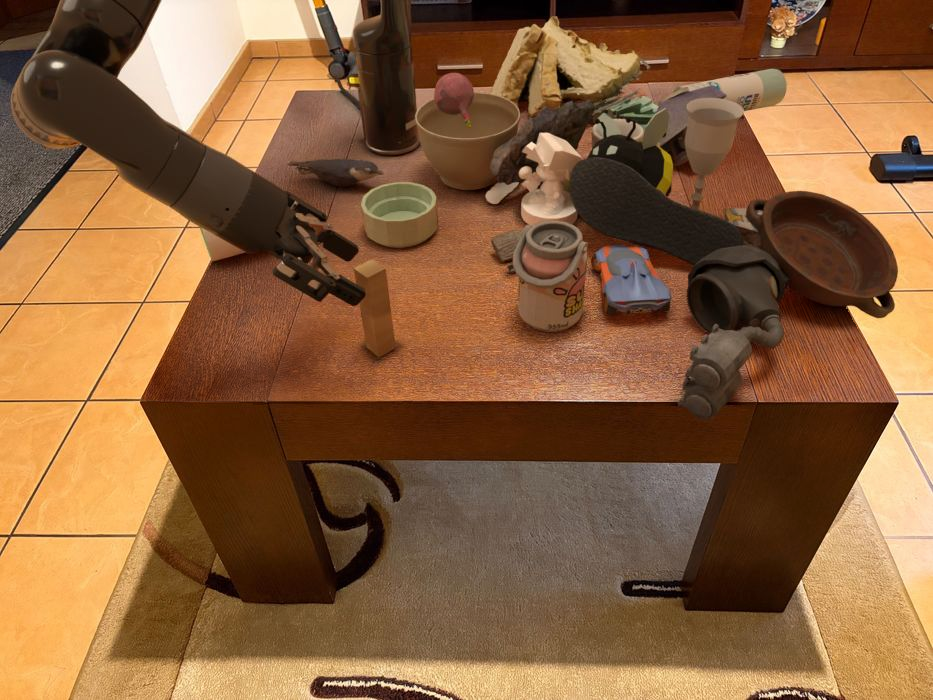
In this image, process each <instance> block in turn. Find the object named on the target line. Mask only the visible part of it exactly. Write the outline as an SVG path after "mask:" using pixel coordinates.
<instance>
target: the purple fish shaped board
mask: <svg viewBox="0 0 933 700" xmlns="http://www.w3.org/2000/svg"><path fill="white" fill-rule="evenodd" d="M725 97H727V95H726V94H725V93H723V92H722V91H720V90H719V89H717V88H715V87H713V86H707V87H704V88H700V89H696V90H693V91H689V88H688V87H684V88H682V89H680V90H678V91H676V92H674V93H673V92H672V93H671V94H669V95H667V96H666V97H664V98H663V99H661V100H660V101H658V104H657V105H658V106H659V107H658V109H657V111H656V113H658V112H659V111H661V110H663V109H665V108H666V109H667V111H668V114H669V116H670V119H669V124H668V129H667V131H666V133H665V134H664V135H663V137H662V138H661V140H660V141H659V144H660V146H662V145H663V144H664V143H666V142H667V141H669V144H670V147H671V150H672V151H671V153H672V154H671V155H672V157H673V160H674V162H673V166H674V167H675V168H677V167H679V166H682V165H683V164H685V163H687V162H689V159H688V157H687V153H686V149H683V148H681V146H680V144H679V142H678V138H679V137H682V139H683V142H684V145H685V136H686V130H687V125H688V119H689V114H688V111H687V104H688V103H689V102H690V101H693V100H695V99H700V98H719V99H724V98H725ZM656 113H655V114H656ZM685 148H686V147H685Z"/></svg>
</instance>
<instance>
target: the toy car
mask: <svg viewBox="0 0 933 700" xmlns="http://www.w3.org/2000/svg"><path fill="white" fill-rule="evenodd" d="M590 265H591V266H592V268H593V270H594V271H595V272H597V273H599V275H600V278H601V287H600V288H601V290H602V293H601V294H602V296H603V299H602V307H603V312H604V314H605V315H608V316H609V315H617V312H618V311H620V312H622V313H626V316H630V314H634V313H635V314H639V313H650V314H652V315H655V313H654V312H653V311H656V313H666V312H669V311H670V308H671V300H672V294H671V290H670V288H669V287H668V286H667V285H666V284H665V283H664V281H662V279H661V278H660V277H659V274H658V273H657V272H656V270H655V268H654V266H653V264H652V262H651V259H650V255H649V252H648V250H647V249H646V248H645V247H642V246H638V245H634V244H613V245H605V246H603V247H601V248H599V249H598V250H597V251H596V252H595V253H594V254H593V256H591V259H590ZM652 310H653V311H652Z"/></svg>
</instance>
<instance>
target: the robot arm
mask: <svg viewBox="0 0 933 700" xmlns="http://www.w3.org/2000/svg"><path fill="white" fill-rule="evenodd" d="M162 1H163V0H59V3H58V5H57V8H56V11H55V14H54V17H53V19H52V22H51V24H50V26H49V28H48V29H47V32H46V33H45V35H44V36H43V38H42V39H41V41H40V43H39V44H38V46H37V47H36V49H35V51H34V53H33V54H32V56H31V58H30V59H29V60H27V62H26V63H25V65H24V66H23V68H22V70H21V71H20V74H19V76H18V78H17V80H16V81H15V83H14V85H13V88H12V90H11V94H10V95H11V96H10V107H11V113H12V116H13V119H14V121H15V123H16V125H17V127H18V128H19V129H20V131H21V132H22V133H23V134H24V135H25V136H26V137H27V138H29V139H30V140H31V141H33V142H34V143H36V144H38V145H39V146H43V147H46V148H49V149H57V150H59V149H60V150H63V149H64V150H65V149H69V148H74V147H76V146H79V145H83V146H85V147H86V148H88V149H89V150H91V151H92V152H94V153H96V154H97V155H98V156H100V157H101V158H103V159H105V160H106V161H108V162H110V163H111V164H113V165H114V167H115V169H116V172H117V174H118V176H119V177H120V178H121V179H122V180H123V181H124V182H126V183H127V184H128V185H130V186H131V187H133V188H135V189H136V190H137V191H140V192H141V193H143V194H145V195H147V196H148V197H151V198H152V199H154V200H155V201H157V202H159V203H161V204H163V205H165V206H167V207H169V208H170V209H171V210H173V211H175V212H176V213H178V214H179V215H180V216H182V217H183V218H185V219H186V220H188V221H189V222H190V223H192V224H194V225H196V226H197V227H199V228H200V227H201V228H203V229H205V230H206V231H208V232H210V233H212V234H214V235H215V236H217V237H219V238H221V239H223V240H224V241H226V242H228V243H230V244H232V245H234V246H235V247H237V248H239V249H241V250H243V251H244V252H245V253H246V254H249V255H254V254H256V253H258V252H260V251H267V252H268V253H269V254H270V255H272V256H273V257H274V258H275V259H277V264H276V265H275V266H274V268H273V269H272V270H271V273H272V274H273V275H274V276H275V277H276V278H277V279H279V280H281V281H282V282H284V283H286V284H287V285H288V286H291V287H292V288H294V289H295V290H298V291H299V292H301V293H302V294H304V295H306V296H308V297H310V298H311V299H313V300H314V301H316V302H318V303H321V302H322V301H323V300H324V299H325V298H326V297H327V296H328V295H329V294H330V295H332V296H333V297H335V298H338V299H339V300H341V301H342V302H344V303H346V304H348V305H349V306H352V307H356V306H358V305H360V304H359V303H360V302H361V301H362V300H363V298H364V297H365V296H366V293H365V289H364V288H362V287H360V286H359V285H357V284H356V282H354V281H352V280H350V279H349V278H347V277H345V276H343V275H342V274H338V272H336V270H334V269H333V267H332V266H331V265H330V264H329V263H328V257H327V255H326V254H325V253H324V252H323V251H322V249H321V248H319V246H320V245H322V248H323V249H325V250H326V251H327V252H330V253H331V254H332V255H334V256H336V257H338V258H340V259H341V260H343V261H345V262H347V263H349V262H352V260H353V259H354V258H355V257H356V256H357V255H358V253H359V245H358V244H356V243H354V242H353V241H351V240H350V239H348V238H346V237H344V235H342V234H340V233H339V232H337V231H335V230H334V227H333V226H332V224H330V223H329V222H327V220H329V217H328V215H327V214H326V213H325V212H324V211H322V210H320V209H318V208H317V207H315V206H314V205H311V204H310V203H308V202H307V201H305V200H303V199H302V198H300V197H298V196H296V195H294V193H291V192H290V191H288V190H284V189H282V188H281V187H279V186H278V185H277V184H274V183H273V182H271V181H269V180H268V179H266V178H265V177H263V176H262V175H261V174H258V173H257V172H255V171H254V170H252V169H250V168H248V167H247V166H245V165H244V164H242V162H239V161H237V160H236V159H235V158H233V157H232V156H229V154H225V153H224V152H222V151H219V150H217V149H215V148H213V147H211V146H209V145H207V144H205V143H204V142H202V141H201V140H199V139H197V138H196V137H194V136H192V135H191V134H189V133H188V132H186V131H185V130H183V129H181V128H179V127H178V126H176V125H175V124H174V123H171V122H169V121H167V120H165V118H163V117H162V116H161V115H159V114H158V113H157V112H156V111H155V110H154V109H153V108H152V107H151V106H150V105H149V104H148V103H147V102H146V101H145V100H144V99H143V98H141V97H140V96H139V95H138V94H137V93H136V92H134V91H133V90H132V89H131V88H130V87H128V86H127V84H125V82H123V81H122V80H120V79H119V78H118V77H119V75H120V74H121V71H122V69H123V68H124V66H125V65H126V64H127V63H128V62H129V60H130V59H131V58H132V57H133V55H134V54H135V52H137V50H138V48H139V47H140V45H141V43H142V41H143V40H144V37H145V35H146V33H147V31H148V30H149V27H150V25H151V23H152V21H153V19H154V18H155V15H156V14H157V11H158V9H159V7H160V5H161V2H162ZM366 1H367V2H368V1H369V2H380V14H379V15H376V16H373V17H370V18H367V19H364V20H361V21H360V22H359V23H357V24H356V25H355V27H354V28H353V31H352V39H353V46H354V47H353V48H354V54H355V62H356V69H357V77H358V86H359V87H358V89H357V94H358V99H357V98H356V97H355V96H353V95H352V94H351V93H349V91H347V90H346V88H345V87H344V86H343V84H342V81H341V78H340V77H338V76H336V77H335V78H334V83H336V84H337V86H338V88H339V90H340V91H341V93H342V94H344V95H345V96H346V97H347V98H348V99H349V100H350V101H352V102H353V103H354V104H355V105H356V106H357V107H358V108H359V109H360V111H359V112H360V117H361V125H362V134H363V141H365V142H366V148H367V149H368V150H369V151H370V152H372V153H374V154H377V155H381V156H398V155H403V154H406V153H409V152H411V151H413V150H415V149H417V148H418V146H419V145H420V144H421V143H420V139H419V134H418V128H417V125H416V121H415V115H416V112H417V110H418V107H417V106H418V105H417V94H416V93H417V92H416V82H415V81H416V80H415V71H414V70H415V69H414V56H413V43H412V21H413V20H412V17H413V16H412V0H366ZM308 215H311V216H308ZM312 259H313V260H312ZM311 261H312V262H311ZM309 263H310V264H309ZM319 269H320V270H321V271H322V272H321V271H320V270H319ZM310 284H311V285H310Z"/></svg>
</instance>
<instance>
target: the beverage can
mask: <svg viewBox="0 0 933 700" xmlns="http://www.w3.org/2000/svg"><path fill="white" fill-rule="evenodd" d="M521 231H522V236H521V238H520V240H519V242H518V244H517V246H516V248H515V250H514V253H513V260H512V264H511V265H513V267H514V270H515V272H514V273H515V274H516V277H518V304H517V305H518V307H517V308H518V309H517V310H518V311H517V312H518V314H519V316H520V318H521V320H522V321H523V322H525V323H526V325H528V326H529V327H531V328H533V329H534V330H537V331H541V332H545V333H557V332H562V331H565V330H567V329H569V328H571V327H573V326H574V325H575V324H576V323H578V322H579V321H580V319H581V316H582V315H583V309H584V300H585V299H584V297H585V287H586V278H587V277H586V276H587V266H588V245H589V243H588V242H587V241H584V240H583V239H584V237H583V233H582V232H581V230H580V229H579V228H578V227H576V226H575V225H574V224H572V225H571V224H569V223H566V222H561V221H546V222H541V223H538V224H536V225H534V226H531V225H529V224H526V225H525V226H524V228H522V230H521Z"/></svg>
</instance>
